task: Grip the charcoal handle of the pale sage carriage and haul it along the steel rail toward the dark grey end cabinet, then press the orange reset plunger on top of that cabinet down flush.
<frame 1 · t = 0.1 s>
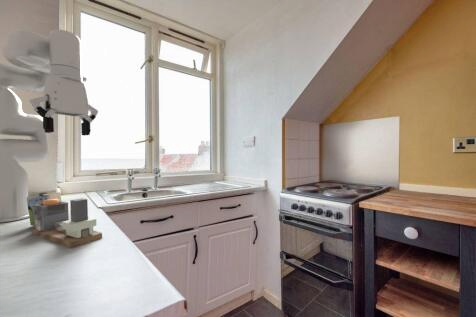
hand: (68, 133, 65), 31 cm above the worktop, fingers open, 9 cm apart
carriage: (79, 216, 64), point 7 cm above the worktop, slide at 0.0 cm
rail bench: (66, 235, 68), on the worktop
reset plunger: (51, 203, 72), point 9 cm above the worktop, slide at 0.0 cm
beverage can: (40, 226, 78), on the worktop
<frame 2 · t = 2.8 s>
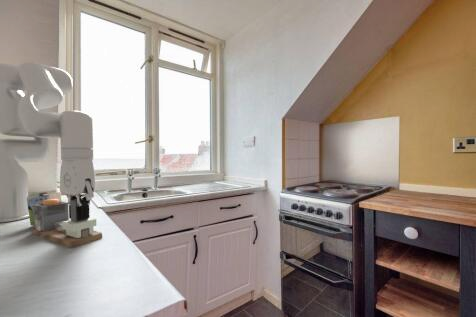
hand: (79, 217, 64), 7 cm above the worktop, fingers closed on carriage, 3 cm apart
carriage: (79, 216, 64), point 7 cm above the worktop, slide at 0.0 cm, touching gripper
everything else where it was.
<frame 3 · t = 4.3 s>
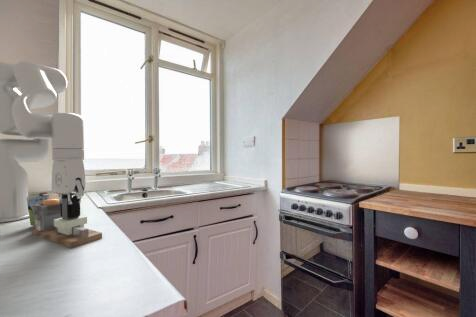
hand: (70, 215, 66), 7 cm above the worktop, fingers closed on carriage, 3 cm apart
carriage: (70, 214, 66), point 7 cm above the worktop, slide at 5.0 cm, touching gripper
everything else where it was.
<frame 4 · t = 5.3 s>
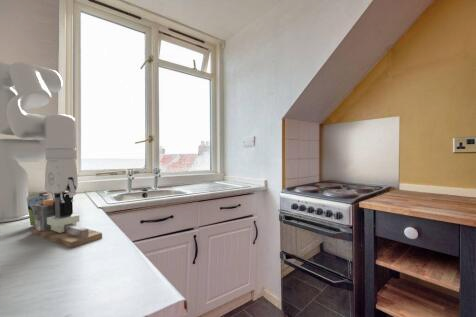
hand: (63, 214, 68), 7 cm above the worktop, fingers closed on carriage, 3 cm apart
carriage: (63, 213, 68), point 7 cm above the worktop, slide at 9.3 cm, touching gripper
everything else where it was.
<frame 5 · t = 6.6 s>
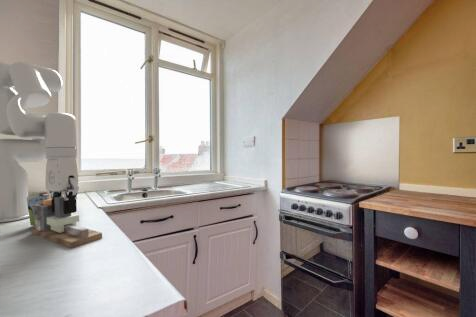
hand: (64, 211, 68), 7 cm above the worktop, fingers open, 6 cm apart
carriage: (63, 213, 68), point 7 cm above the worktop, slide at 9.5 cm
everything else where it was.
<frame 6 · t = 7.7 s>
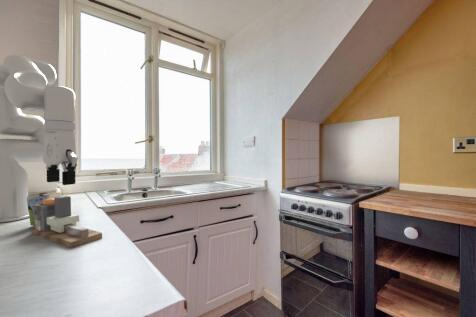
hand: (60, 183, 68), 16 cm above the worktop, fingers open, 9 cm apart
nothing on the worktop moved.
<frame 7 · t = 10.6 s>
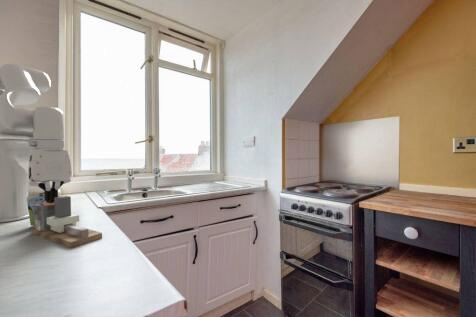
hand: (51, 202, 72), 9 cm above the worktop, fingers closed
reset plunger: (51, 206, 72), point 8 cm above the worktop, slide at 0.9 cm, touching gripper
everything else where it was.
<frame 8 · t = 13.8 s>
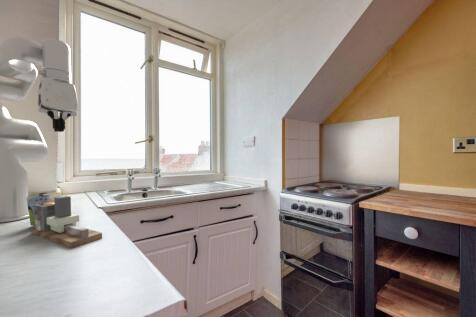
hand: (59, 131, 76), 33 cm above the worktop, fingers closed
reset plunger: (51, 207, 72), point 8 cm above the worktop, slide at 1.2 cm
everything else where it was.
at the end: carriage slide at 9.5 cm; reset plunger slide at 1.2 cm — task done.
